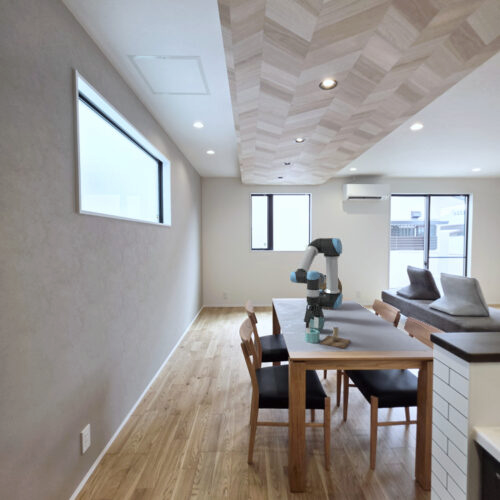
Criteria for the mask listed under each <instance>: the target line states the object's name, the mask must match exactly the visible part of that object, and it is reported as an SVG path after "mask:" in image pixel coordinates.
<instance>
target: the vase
mask: <svg viewBox="0 0 500 500" xmlns="http://www.w3.org/2000/svg"><path fill="white" fill-rule="evenodd" d="M323 275H324V276H325V281H324V282H323V283H322V284H320V285H319V289H320V290H322V291H323V292H324V290H325V289H326V274H323ZM342 285H343V283H342V281H341V280H340V278H339V277H338V289H339V290H340V294H342V293H343V286H342ZM342 295H343V294H342ZM328 309H330V310H334V309H333V308H328V307H322V310H328Z"/></svg>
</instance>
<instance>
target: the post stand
mask: <svg viewBox="0 0 500 500" xmlns="http://www.w3.org/2000/svg"><path fill="white" fill-rule="evenodd" d="M332 330H333V331H332V335H327V336H325V337H324V338H323V339H322V340H321V341H319V342H320V345H322V346H323V345H324V346H327V347H328V346H329V347H332V348H336V349H341V350H345V349H346V348H347V346H349V344H350V343H351V339H347V338H343V337H339V327H338V326H337V327H336V326H334V327H333V329H332Z"/></svg>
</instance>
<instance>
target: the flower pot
mask: <svg viewBox="0 0 500 500" xmlns="http://www.w3.org/2000/svg"><path fill="white" fill-rule="evenodd" d="M314 317H315V316H313V317H311V319H310V329H315V330H318V331H319V333H320V332H321V331H323V329H324V327H325V321H326V319H325V318H324V319H323V318H321V317H320V318H319V317H318V318H319V325H318V328H315V327H314Z"/></svg>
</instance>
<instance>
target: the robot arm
mask: <svg viewBox="0 0 500 500" xmlns="http://www.w3.org/2000/svg"><path fill="white" fill-rule="evenodd" d="M342 253H343V244H342V241H341V239H339V238H337V237H331V238H330V237H326V238H325V237H319V238H318V237H317V238H316V239H314V240H312V241H310V242H309V244H308V245H307V246H306V248H305V253H304V254H303V257H302V259H301V261H300V263H299V265H298V267H297V269H296V271H291V272H290V276H289V280H290V282H291V283H295V284H305V285H306V303H307V305H306V309H305V313H304V317H303V318H304V319H303V322H304V323H305V330H304V334H305V333H309V334H310V319H311V317H313V316H315V317H314V327H315V328H318V325H319V318H320V317H321V318H323V319H325V314H324V312H323V309H322V307H328V308H333V309H332V310H334V309H341V306H342V303H343V299H344V297H343V296H344V295H343V294H340V290H339V289H338V278H339V266H338V265H339V260H338V259H339V258H340V257H341V255H342ZM318 254H323V256H324V258H325V270H326V271H325V274H324V273H321V272H320V271H316V270H310V269H311V267H312V265H313V262H314V259H315V257H316V256H318ZM324 275H326V289H325V290H324V292H323V291H322V290H320V289H319V285H320V284H322V283H323V282H324V281H325V276H324ZM318 317H319V318H318Z"/></svg>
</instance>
